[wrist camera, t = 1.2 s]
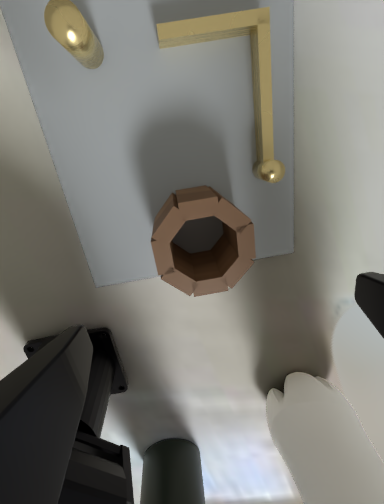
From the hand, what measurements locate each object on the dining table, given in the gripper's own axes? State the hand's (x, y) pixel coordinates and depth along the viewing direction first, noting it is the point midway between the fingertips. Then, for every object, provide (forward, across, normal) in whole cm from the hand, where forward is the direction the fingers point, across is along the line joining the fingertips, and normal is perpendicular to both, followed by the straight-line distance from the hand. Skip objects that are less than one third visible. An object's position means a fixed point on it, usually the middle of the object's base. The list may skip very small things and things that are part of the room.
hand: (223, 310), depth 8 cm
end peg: (+10, +4, -10) cm, 15 cm away
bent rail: (+9, -2, -6) cm, 11 cm away
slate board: (+10, 0, -5) cm, 11 cm away
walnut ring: (+9, 0, 0) cm, 9 cm away
